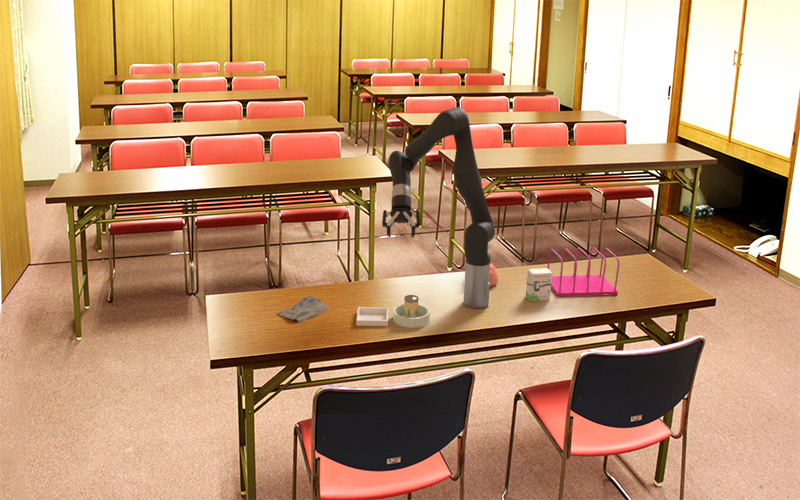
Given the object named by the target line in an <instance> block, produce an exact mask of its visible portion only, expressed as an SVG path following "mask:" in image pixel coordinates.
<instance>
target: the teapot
mask: <svg viewBox="0 0 800 500" xmlns="http://www.w3.org/2000/svg"><path fill="white" fill-rule="evenodd" d="M489 283H490V288H491V287H494V286H495V285H497V283H499V275H498V271H497V268H496V267H495V266H494V264H493V263H491V262H490V275H489Z"/></svg>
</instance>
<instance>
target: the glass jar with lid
mask: <svg viewBox="0 0 800 500" xmlns="http://www.w3.org/2000/svg"><path fill="white" fill-rule="evenodd" d="M403 299H404V300H403V301H404V302H403V304H404V317H407V318H417V317H418V304H419V295H416V294H415V295H414V294H407V295H405V296H404V297H403Z"/></svg>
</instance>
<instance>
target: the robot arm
mask: <svg viewBox="0 0 800 500" xmlns="http://www.w3.org/2000/svg"><path fill="white" fill-rule="evenodd" d="M470 125H471V124H470V120H469V116H468V114H467V112H466V111H465V109H464V108H462V107H460V106H457V107H452V108H449V109H445V110H443V111H441V112H440V113H438V115H437V116H436V117H435V118H434V120H433V121H432V122H431V123H430V125H429V126H428V127H426V129H425V130H424V131H423V132H422V133H421V134H420V135H419V136H417V137H416V138H415V139H414V140H412V141H411V142H410V143H409V144H407V146H406V147H405V148H404V152H402V151H399V150H394V151H392V152H391V153H390V155H389V156H388V168H389V171H390V175H391V178H392V191H391V210H390V211H387V210H386V209H384V210H383V212H382V221H381V223H382V224H381V225H382V228H386V235H387V237H388V238H391V229H392V226H393V225H395V224H396V223H397V224H401V223H402V224H406V223H407V224H408V226H409V227H410V228H411V229H410V230H411V231H410V232H411V235H410V236H411V238H414V237H415V236H416V229H417V228H418V229H419V228H420V227H421V216H420V215H421V214H420V211H419V210H416V211H412V188H411V186H412V185H411V183H412V182H411V176H410V175H409V173H410V172H412V171H413V170H414V169H415V167H416V166H417V165H418V163H419V161H420V160H421V159H422V158H424V157H425V156H426V155H428V153H429V152H430V151H431V150H433V148H434V145H435V144H436V143H438V142H439V141H441V140H442V139H444V138H447V137H450V136H453V139H454V142H455V156H454V160H453V161H454V162H453V169H452V170H453V177H454V182H455V186H456V188H457V189H456V190H457V191H458V193H459V195H460V196H461V198H462V199H463V201H464V202H465V204H466V205H467V207H468V210H469V214H470V218H471V224H469V225H468V226H467V227H466V228H465V229H466V230H465V231H464V245H463V247H464V257H465V268H464V269H465V270H464V284H463V285H464V291H463V305H465V306H466V307H468V308H471V309H482V308H488V307H489V305H490V304H489V303H490V288H491V287H490V283H489V275H490V263H491V260H492V259H491V258H492V257H491V255H490V254H489V253H488V250H489V243H490V242H491V241H492V240H493V239H494V237H495V235H496V227H495V225H494V222H493V219H492V216H491V213H490V211H489V208H488V204H487V200H486V195H485V191H484V188H483V182H482V177H481V174H480V170H479V167H478V164H477V160H476V159H477V158H476V155H475V150H474V146H473V140H472V132H471V126H470ZM389 216H390V217H391V218H390V219H389V221H388V222H387V218H389ZM412 217H414V218H415V219H416V220H415V221H416V222H414V221H413V218H412Z"/></svg>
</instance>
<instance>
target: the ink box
mask: <svg viewBox="0 0 800 500" xmlns="http://www.w3.org/2000/svg"><path fill="white" fill-rule="evenodd" d="M526 273H527V276H526V285H525V286H526V287H525V295H524V296H525V299H527V301H529V302H538V301H539V302H543V301H550V298H551V290H552V289H551V282H552V276H553V272H552V271H551V270H550V268H549V269H548V267H547V268H546V267H544V268H542V267H541V268H529V269H527V272H526Z"/></svg>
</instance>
